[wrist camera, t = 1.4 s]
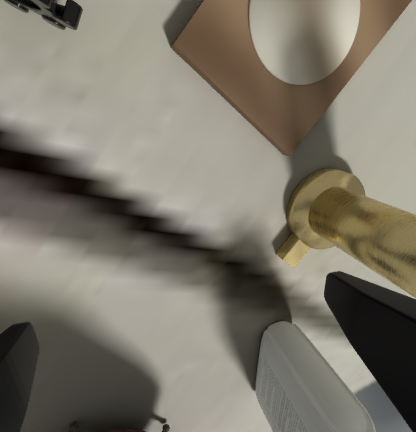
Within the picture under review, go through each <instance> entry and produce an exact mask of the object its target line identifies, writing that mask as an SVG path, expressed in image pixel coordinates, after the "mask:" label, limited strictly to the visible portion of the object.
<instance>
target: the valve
mask: <svg viewBox="0 0 416 432" xmlns="http://www.w3.org/2000/svg"><path fill="white" fill-rule="evenodd" d="M4 1H5V2H7V3H8V4H10V5H11V6H13V7H15V8H17V9H18V10H20V11H23V12H25V13H28V12H29V10H31V11H34V12H36V13H37V14H39V15H41V16H42V18H43V19H44V20H45V21H47V22H48V23H50V24H52V25H53V26H55V27H57V28H59V29H62V30H65V28H66V27H68V28H70V29H73V30H77V28H78V24H79V21H80V18H81V14H82V11H83V9H82V7H81V6H80V5H78V4H77V3H76V2H74V1H73V0H67V1H66V5H65V6H63V5H59V4H57V1H56V0H4Z"/></svg>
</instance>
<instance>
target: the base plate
mask: <svg viewBox="0 0 416 432" xmlns="http://www.w3.org/2000/svg"><path fill="white" fill-rule="evenodd" d="M411 1H412V0H203V1H202V3H201V4H200V6H199V7H198V8H197V10H196V11H195V13H194V14H193V16H192V17H191V19H190V20H189V21H188V23H187V24H186V26H185V27H184V29H183V30H182V32H181V33H180V34H179V36H178V37H177V39H176V40H175V42H174V43H173V45H172V46H171V48H172V49H173V50H174V51H175V52H176V53H177V54H178V55H179V56H180V57H181V58H182V59H183V60H184V61H185V62H186V63H188V64H189V65H190V66H191V67H192V68H193V69H194V70H195V71H196V72H197V73H198V74H199V75H200V76H201V77H202V78H203V79H204V80H205V81H206V82H207V83H209V84H210V85H211V86H212V87H213V88H214V89H215V90H216V91H217V92H218V93H219V94H220V95H221V96H222V97H223V98H224V99H225V100H226V101H227V102H229V103H230V104H231V105H232V106H233V107H234V108H235V109H236V110H237V111H238V112H239V113H240V114H241V115H242V116H243V117H244V118H245V119H246V120H247V121H248V122H250V123H251V124H252V125H253V126H254V127H255V128H256V129H257V130H258V131H259V132H260V133H261V134H262V135H263V136H264V137H265V138H266V139H267V140H268V141H269V142H271V143H272V144H273V145H274V146H275V147H276V148H277V149H278V150H279V151H280V152H281V153H282V154H284V155H287V156H290V155H291V154H292V153H293V151H294V150H295V149H296V148H297V146H298V145H299V144H300V142H301V141H302V140H303V139H304V137H305V136H306V135H307V134H308V132H309V131H310V130H311V128H312V127H313V126H314V125H315V123H316V122H317V121H318V119H319V118H320V117H321V116H322V114H323V113H324V112H325V111H326V109H327V108H328V107H329V105H330V104H331V103H332V102H333V100H334V99H335V98H336V97H337V95H338V94H339V93H340V91H341V90H342V89H343V88H344V86H345V85H346V84H347V82H348V81H349V80H350V79H351V77H352V76H353V75H354V74H355V72H356V71H357V70H358V68H359V67H360V66H361V65H362V63H363V62H364V61H365V59H366V58H367V57H368V56H369V54H370V53H371V52H372V51H373V49H374V48H375V47H376V45H377V44H378V43H379V42H380V40H381V39H382V38H383V36H384V35H385V34H386V33H387V31H388V30H389V29H390V28H391V26H392V25H393V24H394V22H395V21H396V20H397V19H398V17H399V16H400V15H401V14H402V12H403V11H404V10H405V8H406V7H407V6H408V5H409V3H410V2H411Z"/></svg>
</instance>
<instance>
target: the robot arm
mask: <svg viewBox="0 0 416 432" xmlns="http://www.w3.org/2000/svg"><path fill="white" fill-rule="evenodd" d="M324 297H325V300H326V302H327V304H328V306H329V308H330V309H331V311H332V313H333V315H334V316H335V318H336V320H337V322H338V323H339V325H340V327H341V329H342V330H343V332H344V334H345V336H346V337H347V339H348V340H349V342H350V343H351V345H352V346H353V348H354V349H355V351H356V352H357V354H358V355H359V356H360V358H361V359H362V361H363V362H364V364H365V365H366V366H367V368H368V369H369V371H370V372H371V373H372V375H373V376H374V378H375V379H376V380H377V382H378V383H379V385H380V386H381V388H382V389H383V390H384V392H385V393H386V395H387V396H388V397H389V399H390V400H391V402H392V403H393V404H394V406H395V407H396V409H397V410H398V412H399V413H400V414H401V416H402V417H403V419H404V420H405V421H406V423H407V424H408V426H409V427H410V428H411V430H412V431H413V432H416V299H413V298H411V297H408V296H405V295H403V294H400V293H397V292H395V291H392V290H389V289H387V288H384V287H381V286H379V285H376V284H373V283H370V282H368V281H365V280H362V279H360V278H357V277H354V276H352V275H349V274H346V273H344V272H341V271H338V272H332V273H329V274H328V275H327V277H326V283H325V290H324ZM38 355H39V343H38V340H37V337H36V334H35V332H34V329H33V326H32V324H31V323H30V322H24V323H18V324H13V325H12V326H10V327H9V328H8V329H6V330H5V331H4V332H3V333H1V334H0V432H20V430H21V427H22V424H23V421H24V417H25V414H26V410H27V406H28V402H29V398H30V393H31V388H32V384H33V379H34V374H35V369H36V365H37V360H38Z"/></svg>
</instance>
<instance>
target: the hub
mask: <svg viewBox="0 0 416 432" xmlns="http://www.w3.org/2000/svg"><path fill="white" fill-rule="evenodd" d="M287 223H288V226H289V229H290V231H291V233H292V234H291V235H290V236H289V238H288V239H287V240H286V241H285V243H284V244H283V245H282V246H281V247H280V249H279V250H278V251H277V252H276V254H277V255H278V256H279V257H280V258H281V259H282V260H283V261H285V262H286V263H288V264H289V265H291V266H292V267H293V268H294V267H295V266H296V265H297V264H298V263H299V261H300V260H301V259H302V258H303V256H304V255H305V254H306V253H307V252H308V250H309V249H310V248H314V249H327V248H331V247H334V246H336V247H338V248H339V249H341V250H342V251H344V252H345V253H347V254H348V255H350V256H352V257H353V258H355V259H356V260H358V261H359V262H361V263H362V264H364V265H365V266H367V267H369V268H370V269H372V270H373V271H375V272H376V273H378V274H379V275H381V276H383V277H384V278H386V279H387V280H389V281H390V282H392V283H393V284H395V285H397V286H398V287H400V288H401V289H403V290H404V291H406V292H407V293H409V294H410V295H412V296H414V297H415V298H416V215H415V214H412V213H409V212H407V211H404V210H401V209H398V208H396V207H393V206H390V205H388V204H385V203H382V202H380V201H377V200H374V199H371V198H369V197H366V196H365V191H364V188H363V185H362V183H361V182H360V180H359V179H358V178H357V177H356V176H354V175H353V174H351V173H348V172H345V171H342V170H338V169H334V168H327V169H322V170H318V171H316V172H314V173H312V174H310V175H309V176H307V177H306V178H305V179H304V180H303V181H302V182H301V183H300V184H299V185H298V186H297V188H296V189H295V191H294V192H293V194H292V196H291V198H290V201H289V204H288V208H287Z"/></svg>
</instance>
